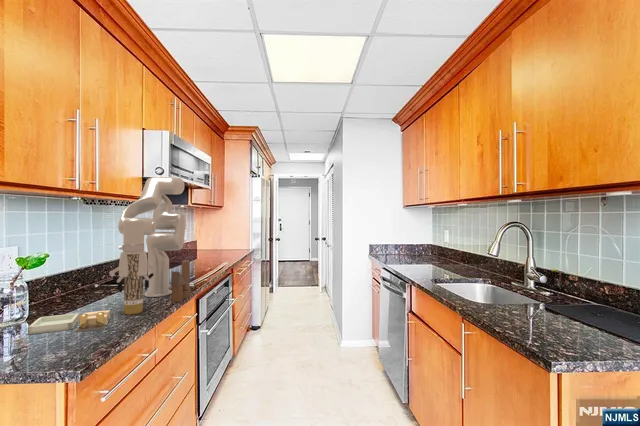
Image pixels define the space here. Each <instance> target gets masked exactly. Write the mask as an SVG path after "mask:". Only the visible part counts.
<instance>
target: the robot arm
mask: <svg viewBox="0 0 640 426" xmlns="http://www.w3.org/2000/svg"><path fill="white" fill-rule="evenodd" d="M184 190H185V181H184V180H183V179H182V178H181V177H171V176H170V177H167V176H153V177H148V178H147V179H146V181H145V184H144V186H143V189H142V191H141V194H140V196H139V199H136V200H135V201H133V202H132V203H131V204H129V205H128V206H126V207H125V209H123V211H122V214H121V215H120V218H119V221H118V226H117V228H118V231H119V233H120V234H121V235H122V236H123V237H122V243H123V244H122V245H119V246H118V250H121V251H122V252H120V255H119V263H118V267H116V268H114V269H112V270H110V271H109V272H108V274H109V276H111V278H112V279H113V280H114V281H115V282H116V283H117V291H119V293H122V292H123V281H122V280H124V277H128V257H127V254H128V253H139V271H138V275H139V276H143V279H145V280H144V291H145V292H143V296H145V297H146V298H147V297H148V298H159V297H166V296H169V295H172V289H170V259H169V256H168V255H167V253H166V252H165V251H180V250H182V249H183V247H184V244H185V237H186V225H187V223H186V222H187V220H186V216H185V214H184V213H183V212H181V211H173V203H172V201H171V200H170V198H169V197H168V196H167V195H181V194H182V193H183V192H184ZM151 211H153V212H152V218H151V217H137V216H139V215H141V214H144V213H147V212H151ZM157 230H159V231H157ZM145 236H146V238H145ZM145 243H146V248H147V251H146V250H145ZM117 272H118V275H116V273H117Z"/></svg>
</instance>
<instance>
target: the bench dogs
mask: <svg viewBox="0 0 640 426" xmlns="http://www.w3.org/2000/svg"><path fill="white" fill-rule="evenodd" d="M87 317H88V314H85V313H81V314H80V315H79V321H78V327H77V328H76V330H75V333H83V332H91V331H101V330H104V329H105V327H106V325H105V324H104V312H98V313H96V325H95V326H87Z"/></svg>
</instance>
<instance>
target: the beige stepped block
mask: <svg viewBox="0 0 640 426" xmlns="http://www.w3.org/2000/svg"><path fill="white" fill-rule="evenodd" d="M98 312H104V324H105V326H107V325H108V323H109V321H110V319H111V309H107V310H99V311H97V310H96V311H89V312H84V314H88V317H87V326H95V325H96V313H98Z"/></svg>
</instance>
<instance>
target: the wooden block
mask: <svg viewBox="0 0 640 426" xmlns="http://www.w3.org/2000/svg"><path fill="white" fill-rule="evenodd" d="M190 267H191V265H190V260H188V259H185V260H181V272H180V271H171V290H172V294H171V302H172V303H180V302H182V301H183V300H186V299H187V298H191V294H192V293H191V289H190V284H191V283H190V277H191V276H190V273H191V272H190Z"/></svg>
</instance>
